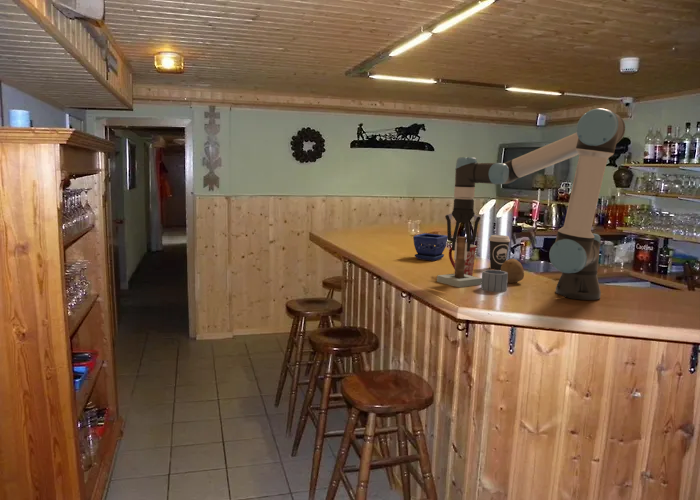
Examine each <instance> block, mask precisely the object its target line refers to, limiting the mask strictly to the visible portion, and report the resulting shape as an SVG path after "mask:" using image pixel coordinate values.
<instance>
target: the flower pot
mask: <svg viewBox="0 0 700 500" xmlns="http://www.w3.org/2000/svg"><path fill="white" fill-rule="evenodd" d="M447 242H448V235H447V234H446V235H444V234H435V233H426V232H425V233H421V234H417V235H414V236H413V245H414V249H415V251H416V253H415V254H414V257H415V258H416V259H418V260H425V261H430V260H431V262H433V261H438V260H442V259H443V258H444V256H445V254H444V251H445V250H446V249H445V248H446V246H447Z"/></svg>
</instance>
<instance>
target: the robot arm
mask: <svg viewBox="0 0 700 500" xmlns="http://www.w3.org/2000/svg"><path fill="white" fill-rule="evenodd" d="M625 132H626V123H625V120H623V118H622V117H621V115H619V114H617V113H615V112H613V110H610V109H607V108H606V109H605V108H594V109H590V110H588V111H587V112H585V113H584V114H582V116H581V117H580V118H579V120H578V121H577V124H576V132H574V133H572V134H570V135H567V136H565V137H563V138H560V139H558V140H556V141H552V142H551V143H549V144H546V145H544V146H541V147H539V148H536V149H535V150H532V151H529V152H528V153H525V154H523V155H520V156H518V157H516V158H513V159H511V160H507V161H506V162H503V163H501V162H477V158H476V157H472V156H471V157H470V156H469V157H468V156H465V157H464V156H463V157H461V156H460V157H458V158H457V159H456V163H455V170H454V171H455V172H454V173H455V177H454V178H455V179H454V181H455V183H454V190H453V191H454V193H453V194H454V195H453V197H454V199H453V209H452V212H451V213H449V214H446V215H445V220H446V226H447V227H446V229H447V230H446V231H447V234H446V236H448V238H447V241H449V242H451V243H452V244H451V248H452V252H453V251H454V257H453V261H455V260H456V255H457V237H458V232H459V229H460V224H462V223H463V224H465V233H466V243H465V254H464V260H467V251H468V252H469V251H470V245H471V244H473V243H475V242H476V240H477V239H476V238H477V234H478V229H479V227H478V226H479V223H480V220H481V219H482V218H481V216H480V215H477V214H476V213H475V211H474V205H475V203H474V202H475V200H474V198H475V195H476V194H475V192H476V190H475V189H476V188H475V187H476V184H485V185H486V184H487V185H489V184H490V185H491V184H492V185H508V184H511V183H513V182H515V181H516V180H518V179H520V178H522V177H525V176H527V175H531V174H533V173H536V172H538V171H540V170H543V169H547V168H549V167H551V166H553V165H556V164H558V163H561V162H563V161H567V160H569V159H572V158H574V157H576V156H578V160H577V165H576V168H575V174H574V179H573V183H572V187H571V192H570V197H569V200H568V206H567V211H566V215H565V219H564V223H563V226H561V228H558V230H557V233H556V237H555V238H556V239H555V242H554V243H553V244H552V246H550V249H549V253H548V254H549V255H548V256H549V261H550V263H551V265H552V266H553V268H555V269H556V270H557V271H559V272H561V275H560V278H559V279H558V281H557V284H556V286H555V293H556V294H557V295H559V296H562V297H563V298H567V299H572V300H582V301H583V300H584V301H595V300H599V299H601V293H602V291H601V288H600V283H599V280H598V269H599V259H600V249H601V244H602V243H601V236H600V235H599V234H598V233H593V232H592V227H593V222H594V219H595V215H596V209H597V205H598V201H599V197H600V193H601V188H602V185H603V179H604V175H605V170H606V168H607V163H608V159H609V158H610V157H612V156H613V155H614V154H615V150H616V148H617V144H618V143H619V142H620V141H621V140H622V139H623V137H624V135H625ZM452 218H453V219H454V220H455V227H454V229H453V230H454V231H453V237H452ZM472 219H473V220H474V225H473V233H472V238H471V230H470V229H471V228H470V221H471V220H472Z"/></svg>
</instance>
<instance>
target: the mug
mask: <svg viewBox="0 0 700 500" xmlns="http://www.w3.org/2000/svg"><path fill="white" fill-rule="evenodd" d="M477 247H478V246H477V245H474V244H473V243H471V245H470V251H469V252H468V251H467V260H465V268H464V274H466V275H470V276H473V275H474V266H475V258H476V250H477ZM448 259H449V261H450V264H451V265H452V268H453V269H454V270H455V264H456V260H454V257H453V250H452V247H450V248H449V250H448Z"/></svg>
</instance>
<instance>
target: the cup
mask: <svg viewBox="0 0 700 500" xmlns="http://www.w3.org/2000/svg"><path fill="white" fill-rule="evenodd" d="M481 278H482V282H481V285H480V288H481V290H483V291H487V292H492V293H493V292H495V293H502V292H507V290H508V282H507V281H508V273H507V272H505V271H501V270H496V269H485V270H482V271H481Z"/></svg>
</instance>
